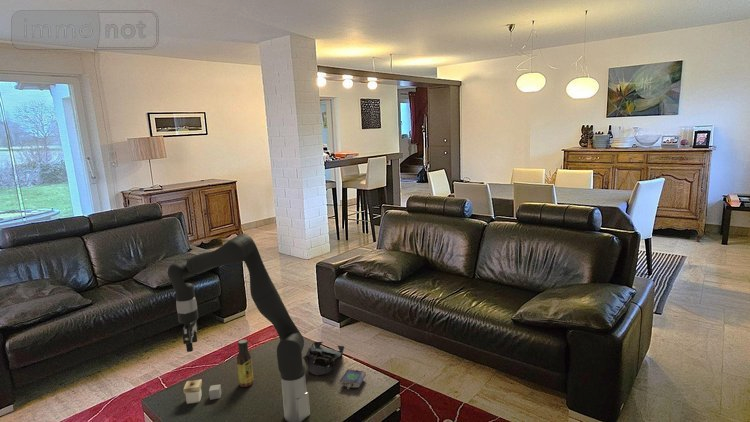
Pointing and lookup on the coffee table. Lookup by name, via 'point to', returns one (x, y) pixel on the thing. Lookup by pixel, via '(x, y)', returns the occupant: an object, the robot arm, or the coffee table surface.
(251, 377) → the sauce bottle
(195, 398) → the white cube box
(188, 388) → the lid
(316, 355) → the dark piece
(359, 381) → the grey electronic device
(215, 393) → the gray cube
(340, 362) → the coffee table surface
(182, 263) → the robot arm
